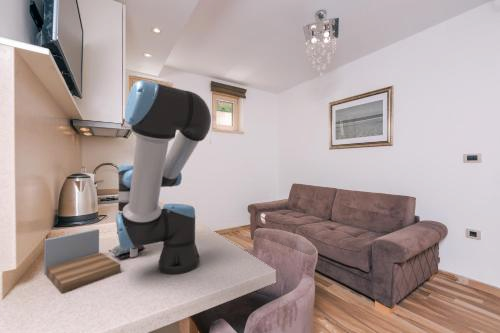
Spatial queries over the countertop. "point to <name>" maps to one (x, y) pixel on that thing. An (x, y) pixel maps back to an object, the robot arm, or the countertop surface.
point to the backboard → (70, 247)
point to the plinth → (82, 272)
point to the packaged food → (124, 251)
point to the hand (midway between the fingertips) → (128, 253)
